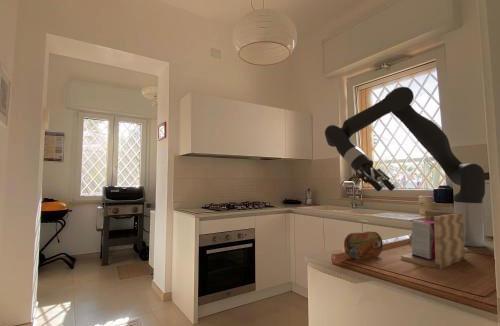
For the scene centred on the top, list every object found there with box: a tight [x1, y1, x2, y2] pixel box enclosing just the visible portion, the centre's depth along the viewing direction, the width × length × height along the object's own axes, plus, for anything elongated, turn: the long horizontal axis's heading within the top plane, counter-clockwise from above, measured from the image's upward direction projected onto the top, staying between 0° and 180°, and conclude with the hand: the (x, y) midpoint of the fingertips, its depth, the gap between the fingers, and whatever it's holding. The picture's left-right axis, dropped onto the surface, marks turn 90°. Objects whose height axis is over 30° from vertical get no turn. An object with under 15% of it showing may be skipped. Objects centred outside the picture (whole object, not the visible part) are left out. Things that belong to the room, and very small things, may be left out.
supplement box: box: [411, 219, 435, 260], centre depth 86 cm, size 6×6×12 cm
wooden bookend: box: [400, 209, 466, 270], centre depth 88 cm, size 19×11×15 cm, turn 124°
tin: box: [343, 231, 384, 261], centre depth 89 cm, size 15×3×8 cm, turn 114°
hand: (386, 189), depth 98 cm, fingers open, 8 cm apart
